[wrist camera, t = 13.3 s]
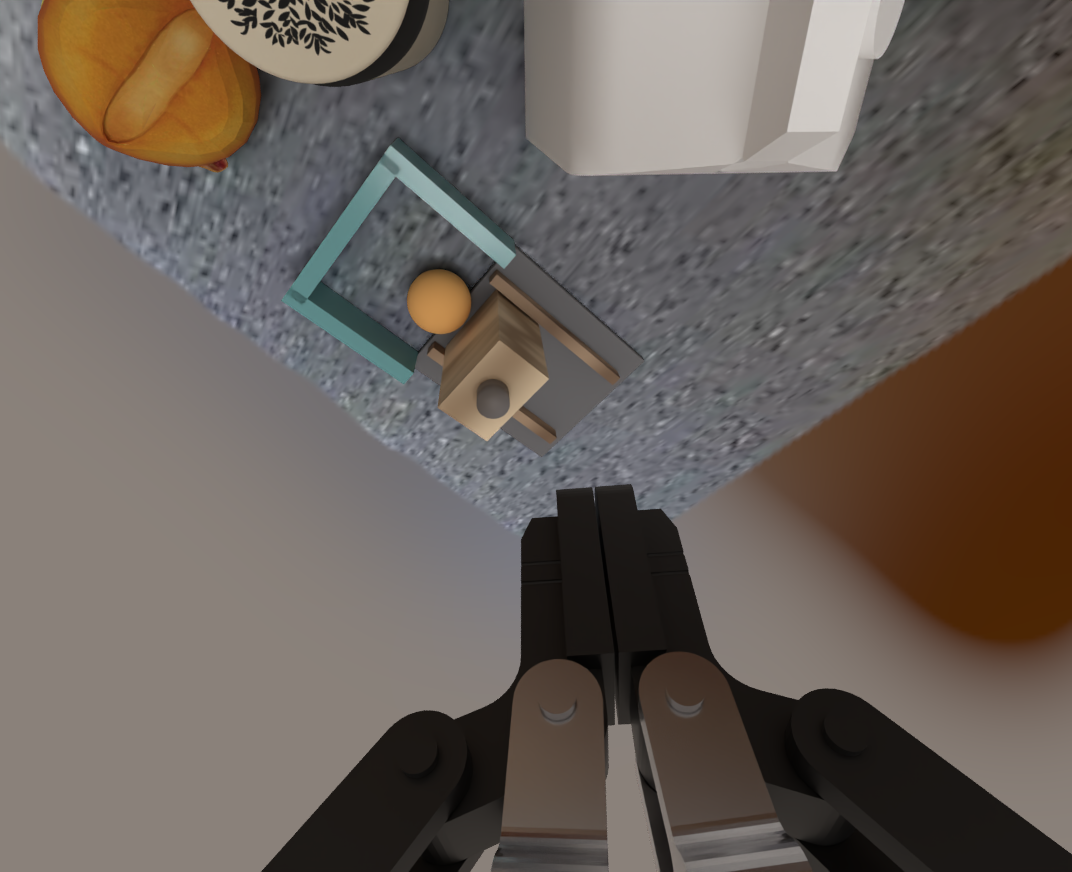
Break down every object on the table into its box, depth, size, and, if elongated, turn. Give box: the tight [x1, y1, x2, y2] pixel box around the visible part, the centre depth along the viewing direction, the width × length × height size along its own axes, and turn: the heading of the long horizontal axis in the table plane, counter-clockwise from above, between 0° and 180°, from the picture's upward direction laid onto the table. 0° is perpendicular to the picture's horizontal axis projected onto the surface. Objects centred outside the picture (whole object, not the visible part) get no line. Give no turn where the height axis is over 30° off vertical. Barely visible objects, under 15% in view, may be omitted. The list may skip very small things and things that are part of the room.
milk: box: [524, 0, 905, 176], centre depth 24 cm, size 12×12×26 cm
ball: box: [407, 269, 471, 334], centre depth 41 cm, size 4×4×4 cm
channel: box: [427, 269, 620, 444], centre depth 45 cm, size 12×8×1 cm, turn 48°
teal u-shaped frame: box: [281, 138, 516, 384], centre depth 40 cm, size 10×12×4 cm
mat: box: [415, 245, 644, 457], centre depth 46 cm, size 14×12×1 cm
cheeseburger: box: [38, 0, 261, 172], centre depth 31 cm, size 10×11×10 cm
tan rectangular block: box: [438, 289, 549, 441], centre depth 40 cm, size 4×6×10 cm, turn 138°
